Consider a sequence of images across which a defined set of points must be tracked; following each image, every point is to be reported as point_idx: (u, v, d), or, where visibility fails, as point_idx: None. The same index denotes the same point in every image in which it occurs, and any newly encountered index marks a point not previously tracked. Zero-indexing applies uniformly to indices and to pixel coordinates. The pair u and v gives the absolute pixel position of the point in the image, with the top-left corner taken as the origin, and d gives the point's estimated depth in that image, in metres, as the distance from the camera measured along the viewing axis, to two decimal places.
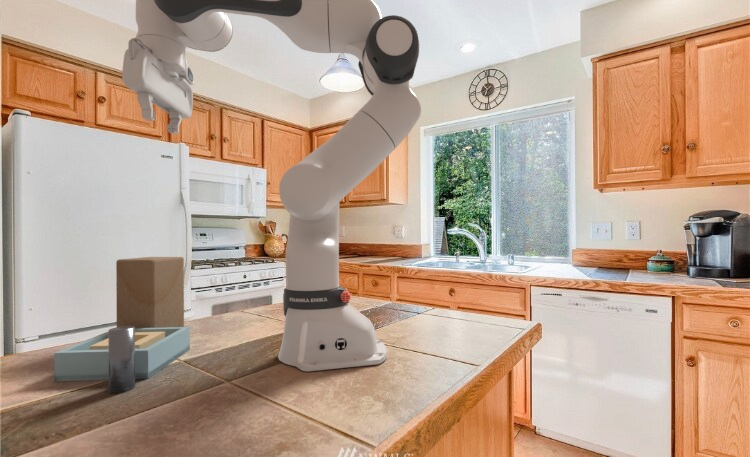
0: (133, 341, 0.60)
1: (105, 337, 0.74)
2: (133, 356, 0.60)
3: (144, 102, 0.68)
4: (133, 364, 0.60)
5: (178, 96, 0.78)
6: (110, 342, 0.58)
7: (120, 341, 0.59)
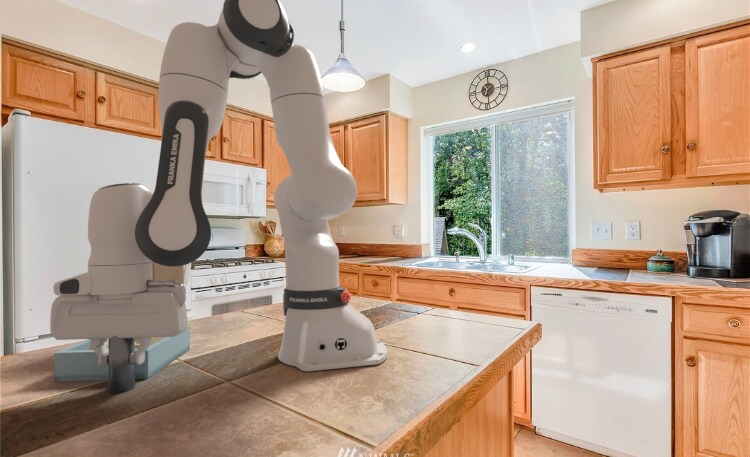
0: (133, 341, 0.60)
1: None
2: None
3: (146, 346, 0.60)
4: None
5: None
6: (110, 342, 0.58)
7: (120, 341, 0.59)
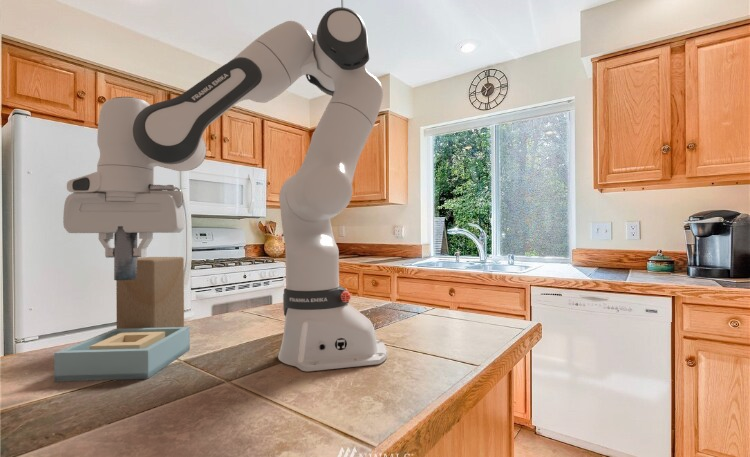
0: (136, 238, 0.69)
1: (105, 337, 0.74)
2: None
3: (147, 242, 0.69)
4: (136, 258, 0.69)
5: None
6: (116, 236, 0.67)
7: (124, 235, 0.67)
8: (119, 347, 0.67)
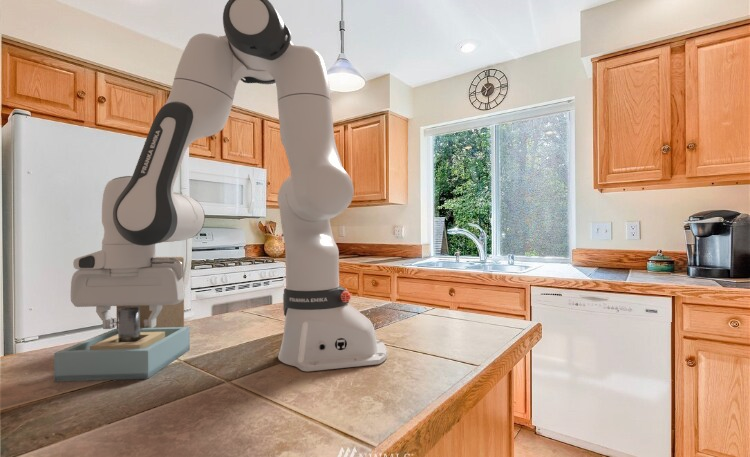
0: (138, 318, 0.72)
1: (105, 337, 0.74)
2: (139, 331, 0.72)
3: (157, 312, 0.72)
4: (139, 338, 0.72)
5: None
6: (119, 319, 0.70)
7: (127, 318, 0.70)
8: (119, 347, 0.67)
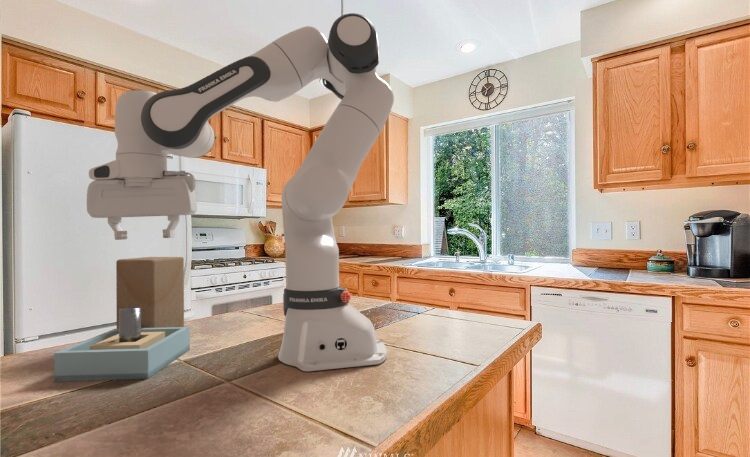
0: (139, 319, 0.72)
1: (105, 337, 0.74)
2: (139, 331, 0.72)
3: (175, 224, 0.75)
4: (139, 338, 0.72)
5: None
6: (120, 319, 0.70)
7: (128, 318, 0.70)
8: (119, 347, 0.67)
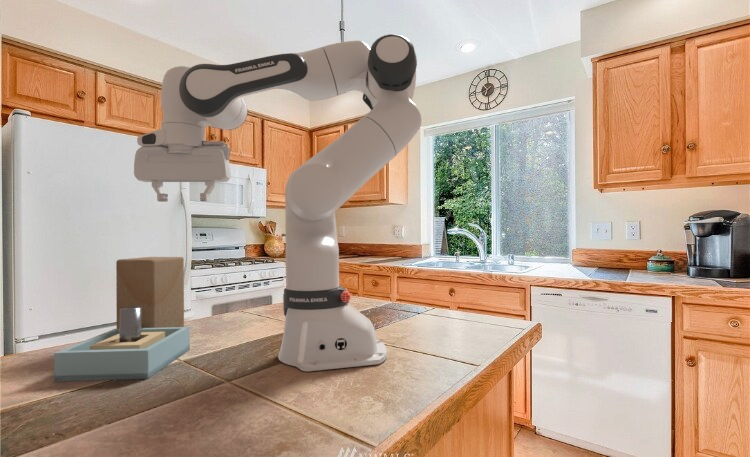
0: (140, 319, 0.72)
1: (105, 337, 0.74)
2: (140, 331, 0.72)
3: (211, 189, 0.83)
4: (139, 338, 0.72)
5: None
6: (121, 318, 0.70)
7: (129, 318, 0.70)
8: (119, 347, 0.67)
